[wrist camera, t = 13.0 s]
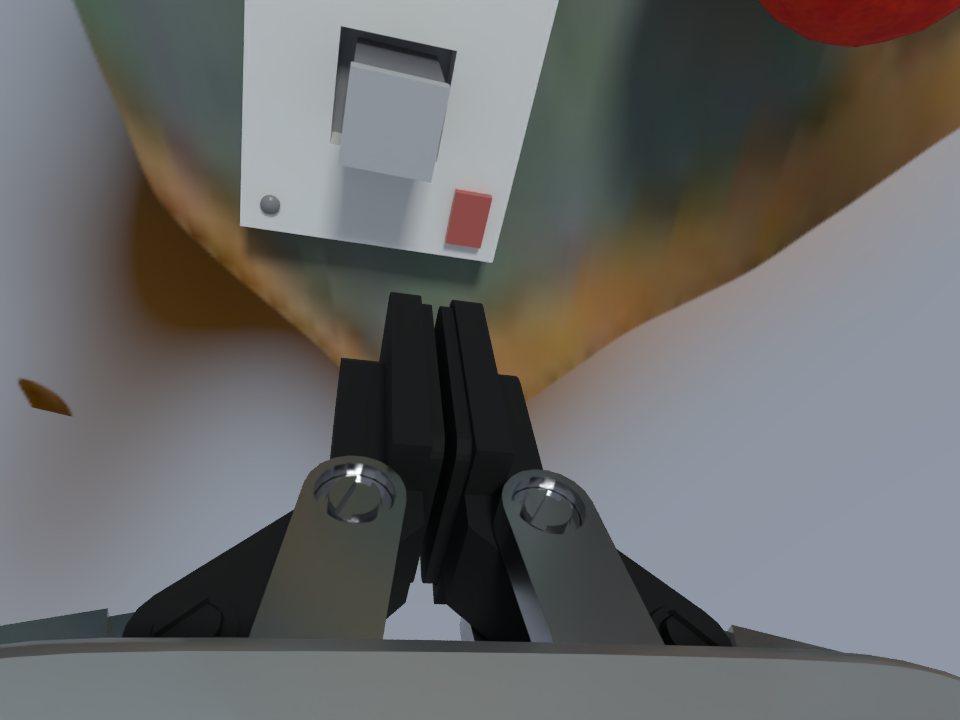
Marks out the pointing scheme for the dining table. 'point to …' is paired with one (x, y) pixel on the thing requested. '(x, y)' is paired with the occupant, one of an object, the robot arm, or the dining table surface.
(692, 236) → the dining table surface
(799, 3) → the apple
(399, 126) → the plug
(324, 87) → the socket plate
